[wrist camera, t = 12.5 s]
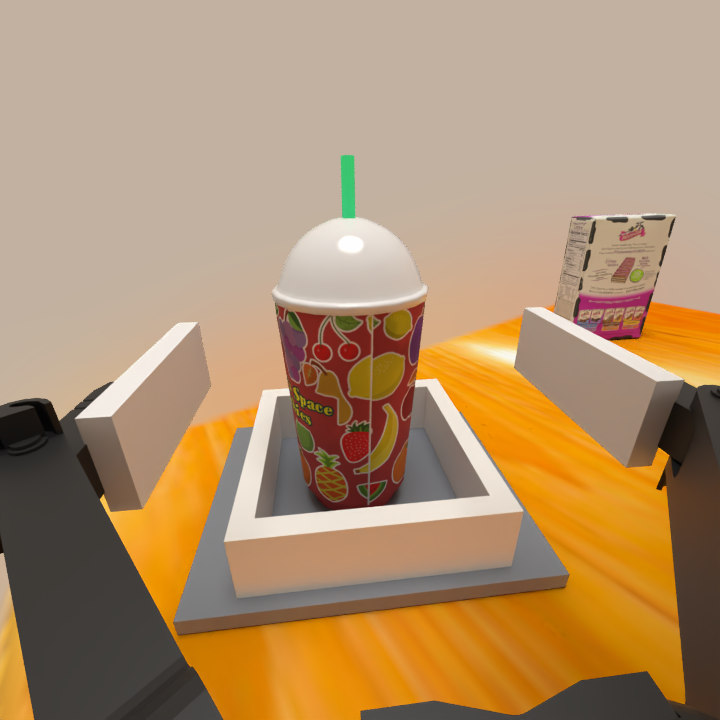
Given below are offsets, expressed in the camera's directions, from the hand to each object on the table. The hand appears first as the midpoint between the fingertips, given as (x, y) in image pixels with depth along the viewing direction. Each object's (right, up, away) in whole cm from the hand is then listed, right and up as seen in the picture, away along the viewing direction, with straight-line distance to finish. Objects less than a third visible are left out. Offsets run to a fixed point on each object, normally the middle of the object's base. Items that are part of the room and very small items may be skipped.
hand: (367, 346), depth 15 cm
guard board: (0, -10, +11) cm, 15 cm away
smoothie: (-1, -9, +11) cm, 14 cm away
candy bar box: (+34, +3, +39) cm, 52 cm away
